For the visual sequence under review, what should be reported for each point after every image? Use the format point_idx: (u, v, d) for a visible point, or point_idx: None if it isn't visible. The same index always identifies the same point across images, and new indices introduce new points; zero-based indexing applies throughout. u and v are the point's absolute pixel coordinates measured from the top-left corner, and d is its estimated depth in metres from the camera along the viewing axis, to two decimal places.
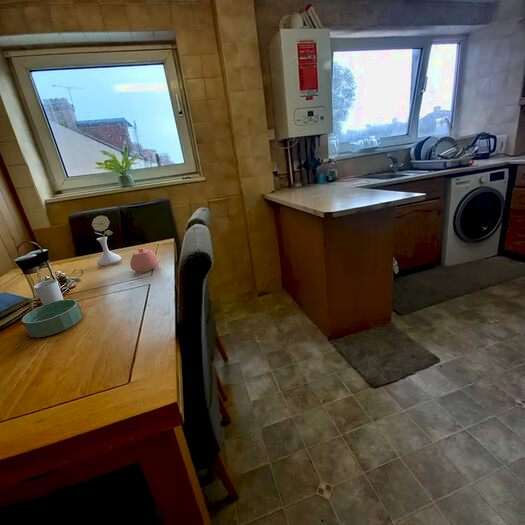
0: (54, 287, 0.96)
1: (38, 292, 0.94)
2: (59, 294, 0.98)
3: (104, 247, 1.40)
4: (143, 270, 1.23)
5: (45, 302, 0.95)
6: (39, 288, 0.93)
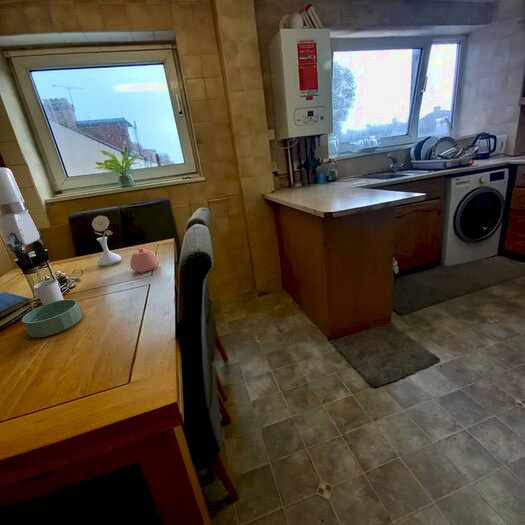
0: (54, 287, 0.96)
1: (38, 292, 0.94)
2: (59, 294, 0.98)
3: (104, 247, 1.40)
4: (143, 270, 1.23)
5: (45, 302, 0.95)
6: (39, 288, 0.93)
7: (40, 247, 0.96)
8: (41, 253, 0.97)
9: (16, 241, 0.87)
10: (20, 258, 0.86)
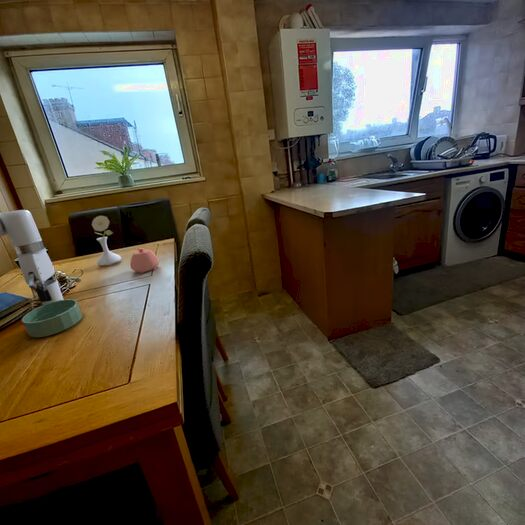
0: (54, 287, 0.96)
1: None
2: (59, 294, 0.98)
3: (104, 247, 1.40)
4: (143, 270, 1.23)
5: (45, 302, 0.95)
6: None
7: None
8: None
9: None
10: (41, 295, 0.93)
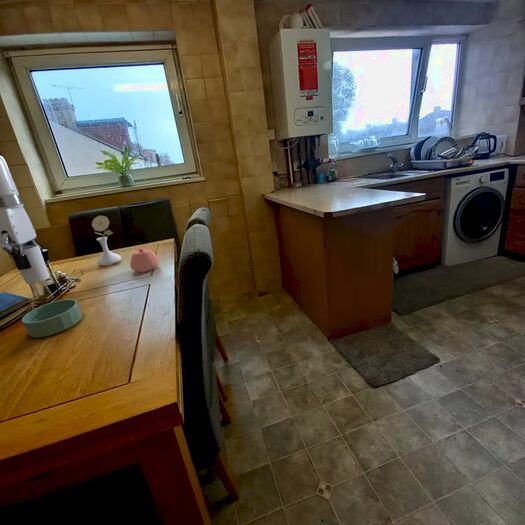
0: (35, 252, 0.79)
1: None
2: (41, 262, 0.81)
3: (104, 247, 1.40)
4: (143, 270, 1.23)
5: (24, 270, 0.79)
6: None
7: None
8: None
9: None
10: (18, 261, 0.76)
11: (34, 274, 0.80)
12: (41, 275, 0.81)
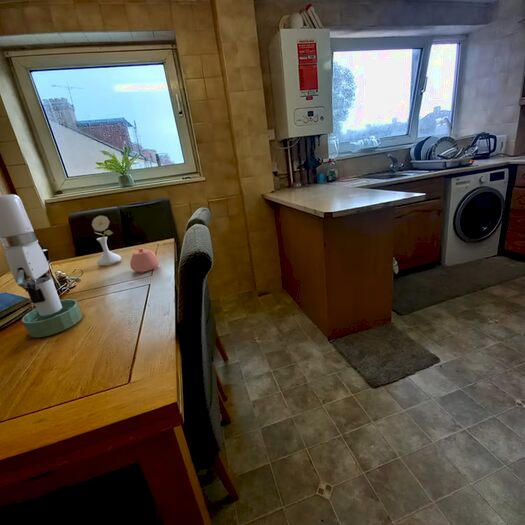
0: (48, 286, 0.82)
1: None
2: (54, 294, 0.84)
3: (104, 247, 1.40)
4: (143, 270, 1.23)
5: (38, 303, 0.81)
6: None
7: None
8: None
9: None
10: (32, 295, 0.79)
11: (48, 306, 0.83)
12: (54, 307, 0.84)
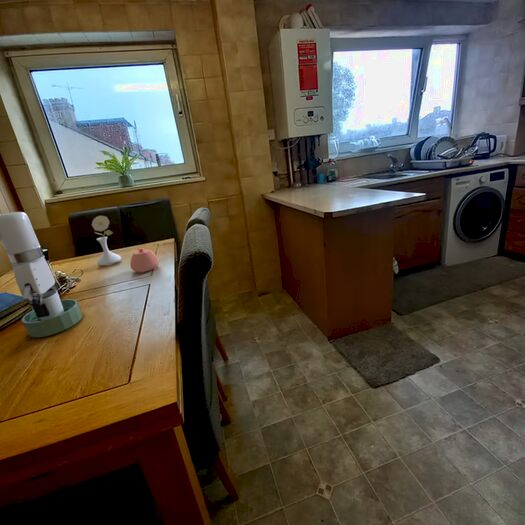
0: (54, 299, 0.84)
1: None
2: (60, 307, 0.86)
3: (104, 247, 1.40)
4: (143, 270, 1.23)
5: (44, 317, 0.83)
6: None
7: None
8: None
9: None
10: (37, 310, 0.80)
11: None
12: None
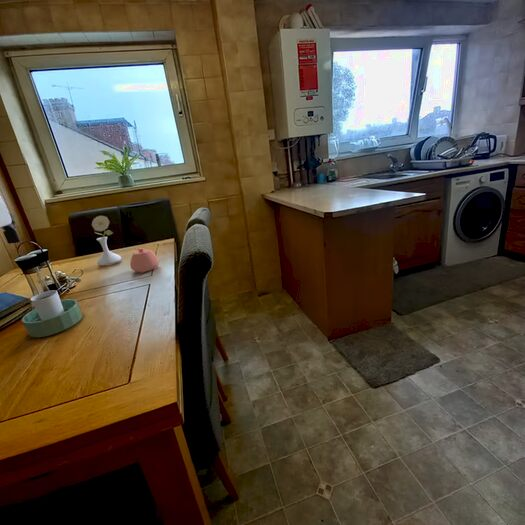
0: (54, 299, 0.84)
1: (36, 305, 0.82)
2: (60, 307, 0.86)
3: (104, 247, 1.40)
4: (143, 270, 1.23)
5: (44, 317, 0.83)
6: (37, 301, 0.81)
7: (12, 233, 0.86)
8: (13, 239, 0.87)
9: None
10: None
11: None
12: None
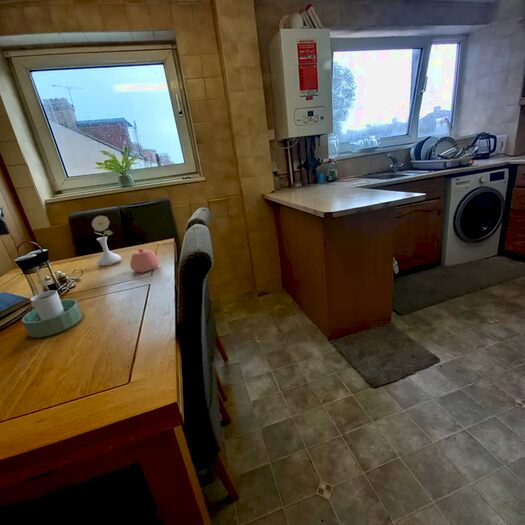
0: (54, 299, 0.84)
1: (36, 305, 0.82)
2: (60, 307, 0.86)
3: (104, 247, 1.40)
4: (143, 270, 1.23)
5: (44, 317, 0.83)
6: (37, 301, 0.81)
7: (1, 225, 0.88)
8: (3, 231, 0.89)
9: None
10: None
11: None
12: None
